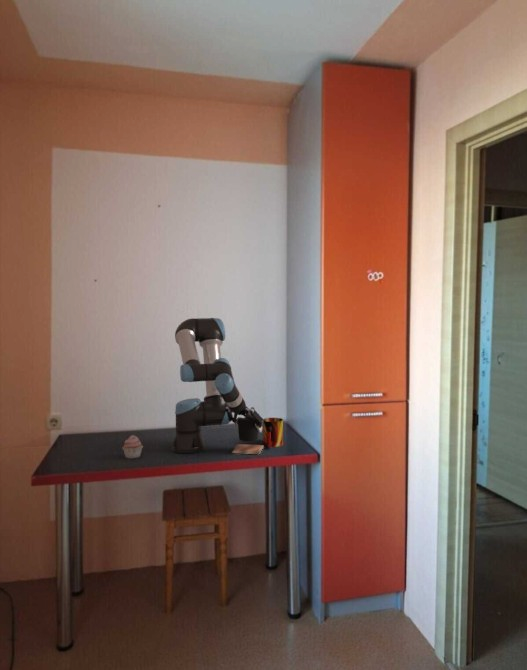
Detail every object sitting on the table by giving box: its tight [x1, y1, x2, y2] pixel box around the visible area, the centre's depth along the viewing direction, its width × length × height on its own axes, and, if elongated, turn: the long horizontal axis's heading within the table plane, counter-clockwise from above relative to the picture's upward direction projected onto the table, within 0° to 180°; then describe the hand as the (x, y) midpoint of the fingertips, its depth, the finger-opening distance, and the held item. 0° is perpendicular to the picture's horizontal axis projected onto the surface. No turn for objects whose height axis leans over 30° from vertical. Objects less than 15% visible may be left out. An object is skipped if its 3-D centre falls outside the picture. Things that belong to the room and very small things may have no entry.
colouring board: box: [231, 443, 265, 456], centre depth 233 cm, size 12×12×1 cm
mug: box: [262, 417, 284, 448], centre depth 242 cm, size 10×14×12 cm
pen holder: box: [237, 416, 259, 442], centre depth 232 cm, size 9×9×10 cm
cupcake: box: [121, 434, 144, 460], centre depth 225 cm, size 9×9×10 cm
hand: (251, 429), depth 235 cm, fingers closed on pen holder, 9 cm apart
